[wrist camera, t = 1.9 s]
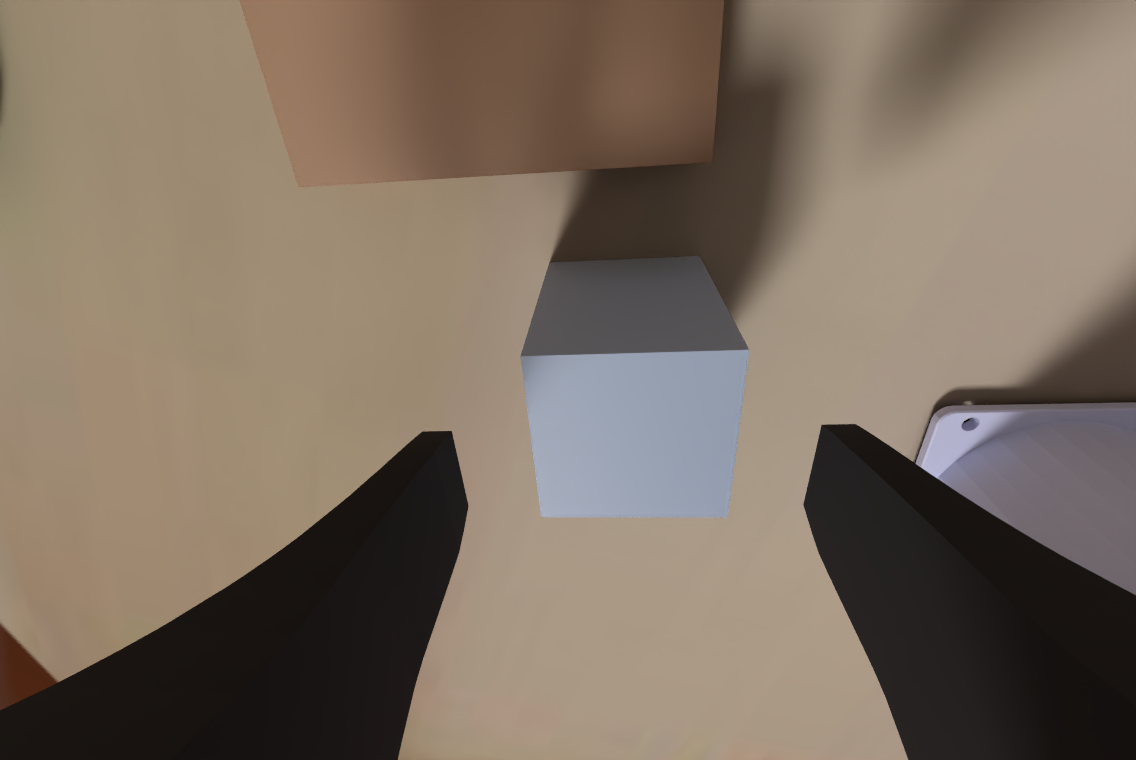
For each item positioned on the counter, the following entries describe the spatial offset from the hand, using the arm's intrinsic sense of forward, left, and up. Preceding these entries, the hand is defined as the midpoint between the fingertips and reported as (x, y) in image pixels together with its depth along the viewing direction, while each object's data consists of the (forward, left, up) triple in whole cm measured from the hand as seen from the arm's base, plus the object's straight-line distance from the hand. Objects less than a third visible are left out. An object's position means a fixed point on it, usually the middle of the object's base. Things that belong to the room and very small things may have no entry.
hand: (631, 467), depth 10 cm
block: (0, 0, -7) cm, 7 cm away
